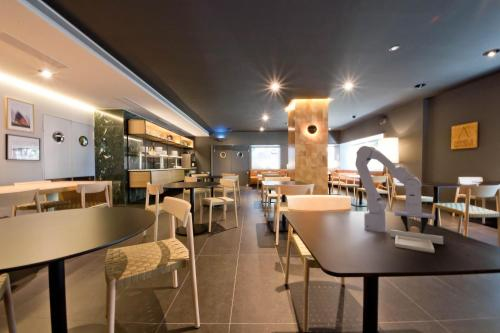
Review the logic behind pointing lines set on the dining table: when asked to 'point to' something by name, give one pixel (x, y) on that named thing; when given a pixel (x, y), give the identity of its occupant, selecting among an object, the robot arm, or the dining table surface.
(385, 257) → the dining table surface
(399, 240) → the tray
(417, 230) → the ball
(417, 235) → the low wall
